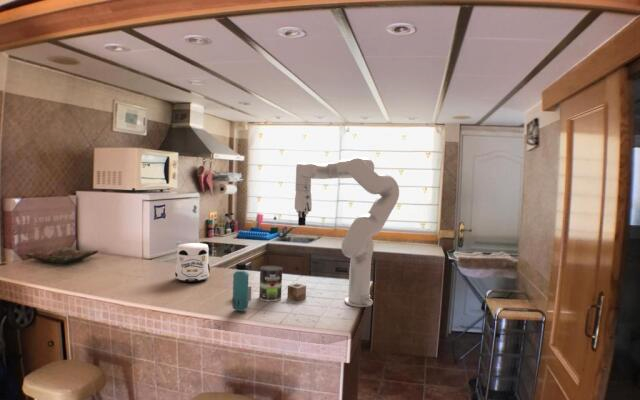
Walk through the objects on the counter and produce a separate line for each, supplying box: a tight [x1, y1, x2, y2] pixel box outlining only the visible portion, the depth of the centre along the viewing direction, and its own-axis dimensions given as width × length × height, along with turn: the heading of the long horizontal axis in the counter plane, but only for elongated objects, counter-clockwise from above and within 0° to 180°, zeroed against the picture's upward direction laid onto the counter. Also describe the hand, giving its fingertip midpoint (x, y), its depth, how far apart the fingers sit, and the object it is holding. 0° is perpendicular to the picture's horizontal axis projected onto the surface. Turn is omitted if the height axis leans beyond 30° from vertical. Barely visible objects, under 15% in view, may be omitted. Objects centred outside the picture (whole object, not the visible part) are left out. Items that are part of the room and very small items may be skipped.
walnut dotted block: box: [286, 282, 307, 302], centre depth 179 cm, size 6×6×6 cm
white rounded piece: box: [174, 242, 211, 283], centre depth 201 cm, size 17×17×18 cm
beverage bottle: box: [231, 262, 250, 311], centre depth 159 cm, size 6×7×20 cm
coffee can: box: [258, 264, 284, 302], centre depth 177 cm, size 10×10×14 cm
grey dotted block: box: [248, 282, 252, 301], centre depth 176 cm, size 6×6×6 cm
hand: (301, 225), depth 192 cm, fingers closed
